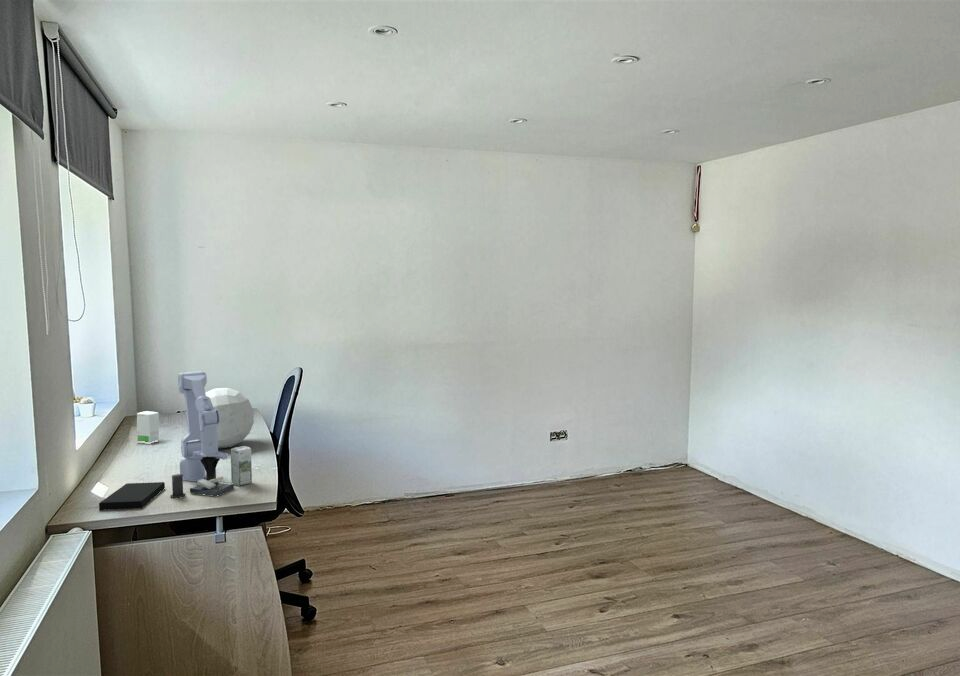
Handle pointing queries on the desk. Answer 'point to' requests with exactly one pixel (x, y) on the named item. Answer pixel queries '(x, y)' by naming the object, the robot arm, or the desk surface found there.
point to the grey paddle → (206, 483)
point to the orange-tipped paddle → (216, 479)
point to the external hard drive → (132, 496)
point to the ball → (231, 416)
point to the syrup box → (241, 465)
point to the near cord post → (177, 486)
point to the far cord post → (211, 477)
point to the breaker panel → (212, 489)
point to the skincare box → (147, 426)
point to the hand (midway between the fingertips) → (210, 476)
